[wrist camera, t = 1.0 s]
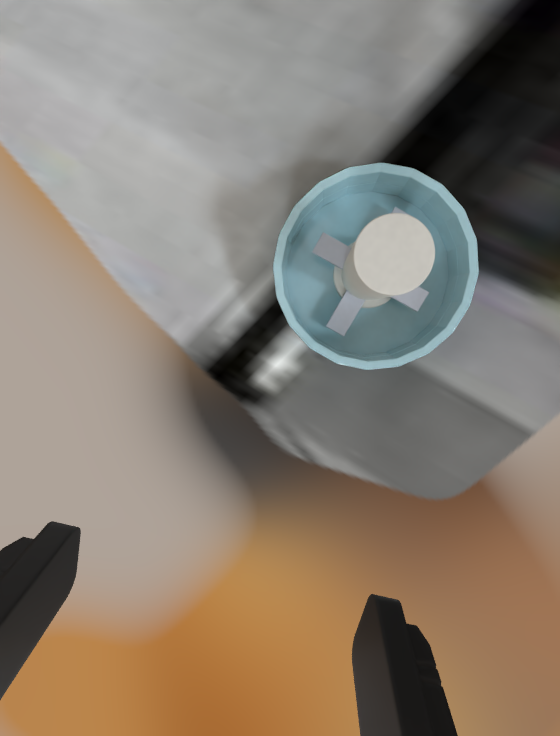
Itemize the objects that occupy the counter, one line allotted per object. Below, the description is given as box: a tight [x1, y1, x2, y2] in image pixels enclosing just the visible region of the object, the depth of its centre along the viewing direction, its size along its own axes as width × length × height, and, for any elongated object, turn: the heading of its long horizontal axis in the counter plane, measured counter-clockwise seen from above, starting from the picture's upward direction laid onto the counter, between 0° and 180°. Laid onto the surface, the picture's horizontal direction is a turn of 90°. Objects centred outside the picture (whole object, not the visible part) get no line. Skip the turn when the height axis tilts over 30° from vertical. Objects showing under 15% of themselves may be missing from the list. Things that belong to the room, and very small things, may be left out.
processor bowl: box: [273, 163, 479, 370], centre depth 33 cm, size 14×14×6 cm
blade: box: [312, 207, 435, 336], centre depth 28 cm, size 10×9×13 cm
